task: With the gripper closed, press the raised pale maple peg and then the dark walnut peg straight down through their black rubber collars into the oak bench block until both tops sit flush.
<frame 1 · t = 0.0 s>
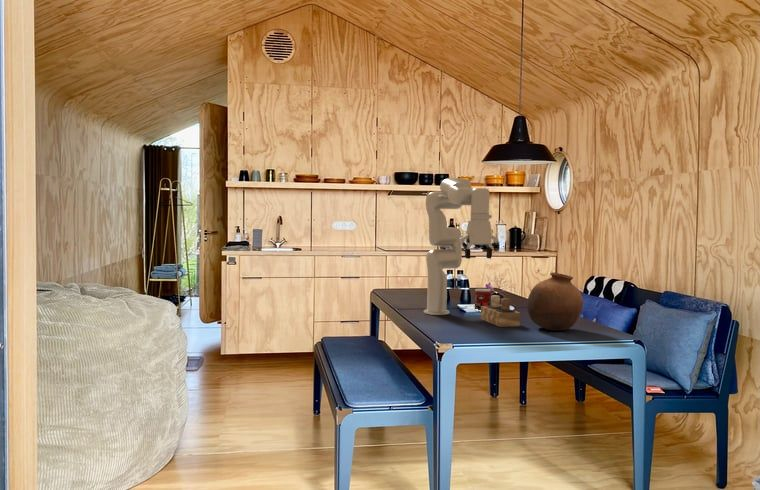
hand: (478, 258, 258), 31 cm above the table, tool pointing down, fingers open, 9 cm apart
pottery: (554, 330, 267), on the table
walnut peg: (505, 306, 277), point 8 cm above the table, slide at 5.0 cm
oak block: (499, 322, 282), on the table
canned food: (482, 311, 312), on the table
maple peg: (495, 302, 286), point 8 cm above the table, slide at 5.0 cm
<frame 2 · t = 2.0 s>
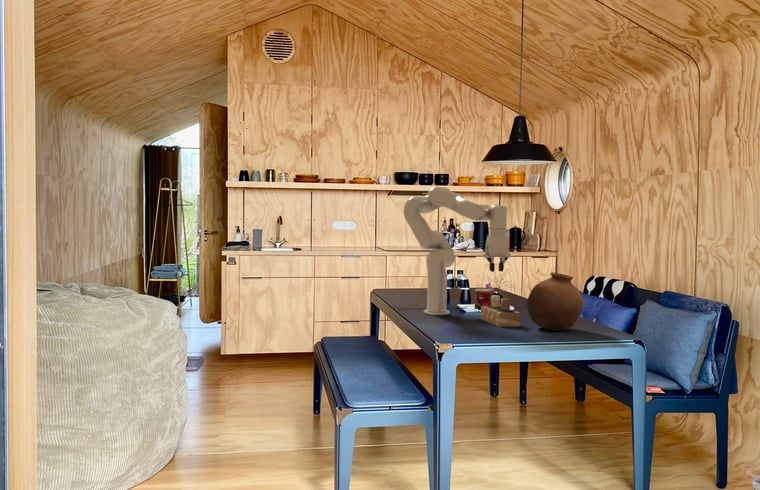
hand: (496, 271, 285), 23 cm above the table, tool pointing down, fingers open, 3 cm apart
nothing on the table moved.
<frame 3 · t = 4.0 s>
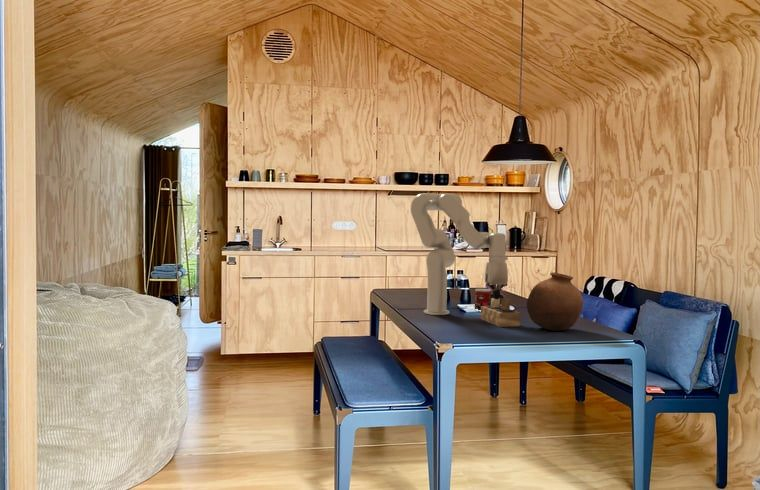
hand: (496, 298, 285), 10 cm above the table, tool pointing down, fingers closed
maple peg: (495, 305, 286), point 7 cm above the table, slide at 3.6 cm, touching gripper
everything else where it was.
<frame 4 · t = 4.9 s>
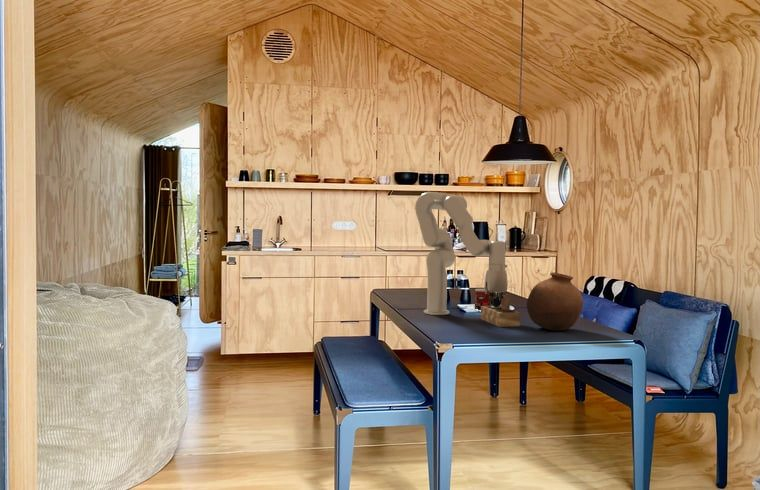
hand: (495, 306, 286), 7 cm above the table, tool pointing down, fingers closed
maple peg: (495, 313, 286), point 3 cm above the table, slide at 0.0 cm, touching gripper
everything else where it was.
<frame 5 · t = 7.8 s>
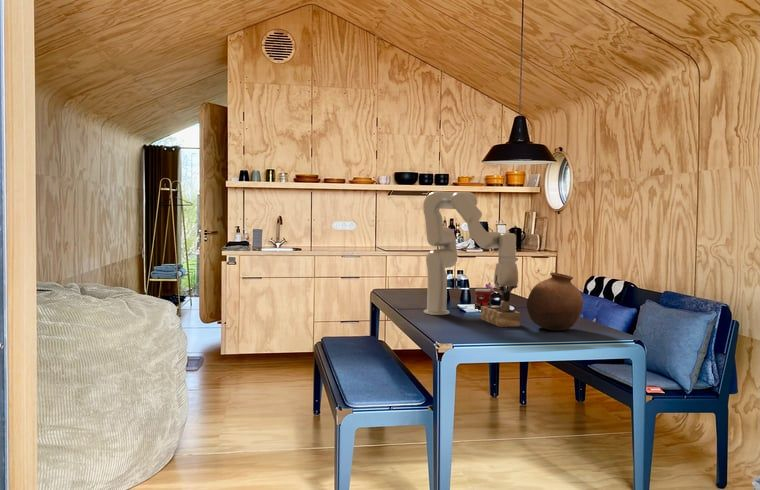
hand: (505, 300, 276), 11 cm above the table, tool pointing down, fingers closed
walnut peg: (505, 308, 277), point 7 cm above the table, slide at 4.1 cm, touching gripper
maple peg: (495, 313, 286), point 3 cm above the table, slide at 0.0 cm
everything else where it was.
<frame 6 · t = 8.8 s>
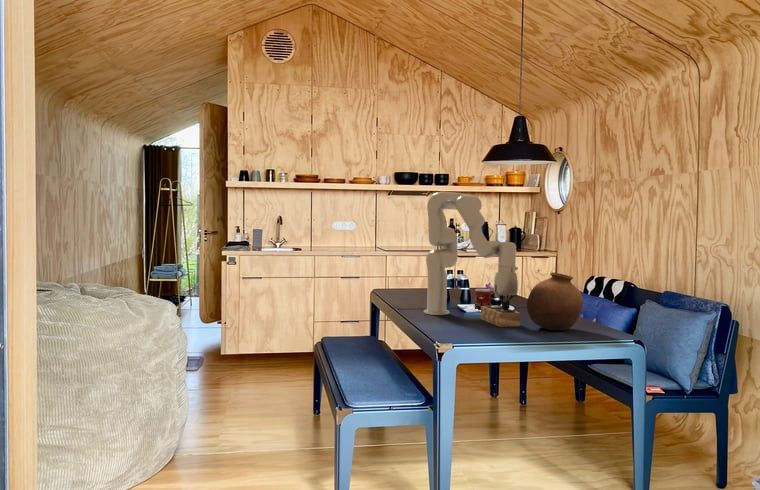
hand: (505, 309, 277), 7 cm above the table, tool pointing down, fingers closed
walnut peg: (504, 317, 277), point 3 cm above the table, slide at 0.0 cm, touching gripper
everything else where it was.
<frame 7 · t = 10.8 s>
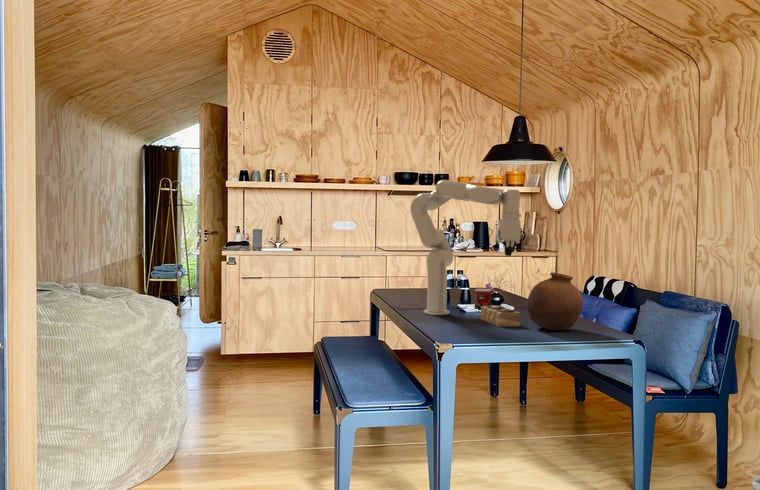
hand: (508, 255, 285), 31 cm above the table, tool pointing down, fingers closed
walnut peg: (504, 317, 277), point 3 cm above the table, slide at 0.0 cm
everything else where it was.
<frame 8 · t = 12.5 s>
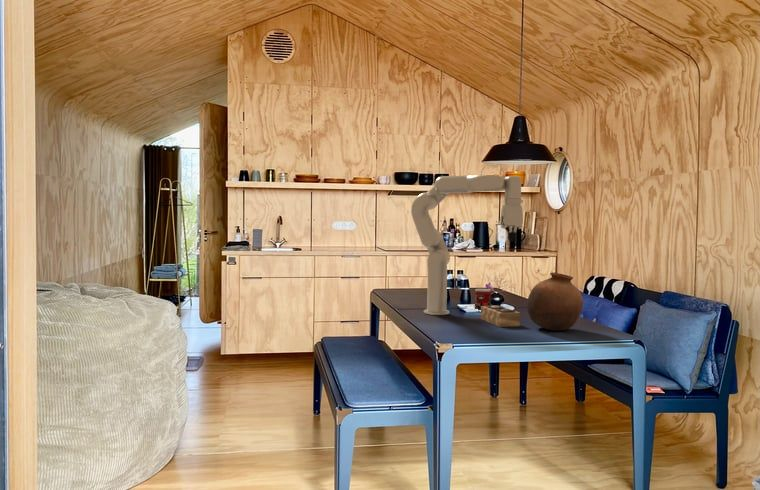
hand: (511, 240, 292), 37 cm above the table, tool pointing down, fingers closed
nothing on the table moved.
at the end: maple peg slide at 0.0 cm; walnut peg slide at 0.0 cm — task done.
